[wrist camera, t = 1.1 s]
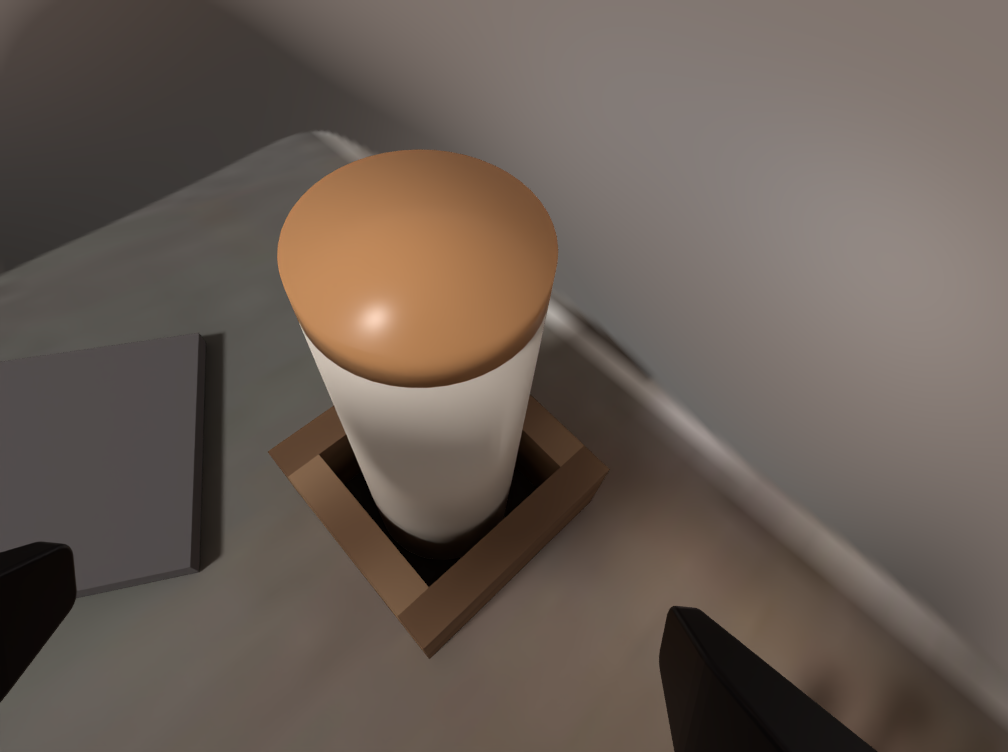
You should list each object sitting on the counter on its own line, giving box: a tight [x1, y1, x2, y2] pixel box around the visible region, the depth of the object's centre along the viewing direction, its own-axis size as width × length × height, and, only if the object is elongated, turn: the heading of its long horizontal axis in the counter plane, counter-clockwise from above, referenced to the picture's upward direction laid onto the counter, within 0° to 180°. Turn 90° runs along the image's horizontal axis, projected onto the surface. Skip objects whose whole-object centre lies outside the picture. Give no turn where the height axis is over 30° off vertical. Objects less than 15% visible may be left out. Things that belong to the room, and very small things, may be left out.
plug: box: [277, 150, 558, 560], centre depth 16 cm, size 5×5×14 cm
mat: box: [0, 333, 206, 598], centre depth 22 cm, size 10×10×1 cm
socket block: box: [268, 395, 610, 659], centre depth 21 cm, size 8×8×4 cm
